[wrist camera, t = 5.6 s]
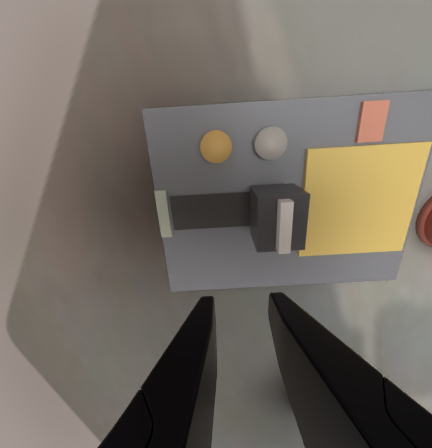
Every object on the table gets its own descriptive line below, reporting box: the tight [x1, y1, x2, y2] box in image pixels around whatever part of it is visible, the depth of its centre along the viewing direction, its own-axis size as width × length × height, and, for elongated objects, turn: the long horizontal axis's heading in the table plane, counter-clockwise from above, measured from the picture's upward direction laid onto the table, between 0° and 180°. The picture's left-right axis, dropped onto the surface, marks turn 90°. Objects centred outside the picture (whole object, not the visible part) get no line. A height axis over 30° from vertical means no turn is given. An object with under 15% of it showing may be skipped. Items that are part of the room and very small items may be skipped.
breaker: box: [250, 183, 310, 254], centre depth 15 cm, size 4×3×4 cm
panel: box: [142, 90, 432, 292], centre depth 17 cm, size 14×19×2 cm
